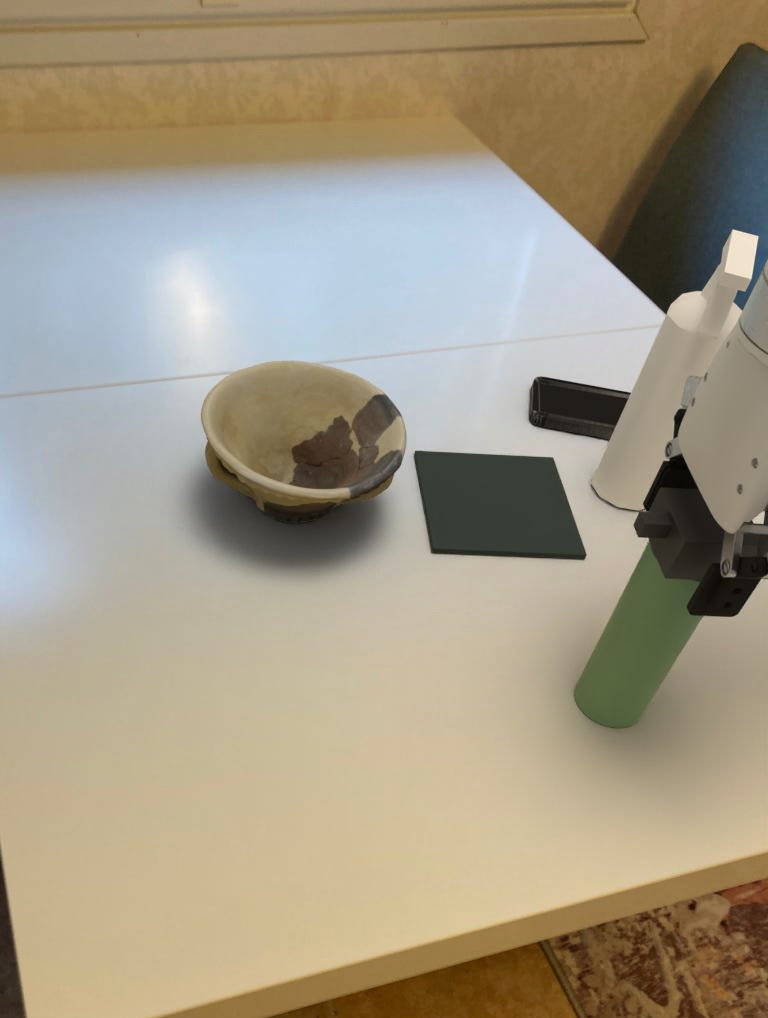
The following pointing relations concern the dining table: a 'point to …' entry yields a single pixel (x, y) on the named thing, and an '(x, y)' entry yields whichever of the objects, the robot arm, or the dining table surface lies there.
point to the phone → (576, 406)
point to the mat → (496, 505)
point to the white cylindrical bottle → (672, 376)
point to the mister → (653, 608)
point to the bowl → (302, 438)
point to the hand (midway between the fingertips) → (686, 558)
